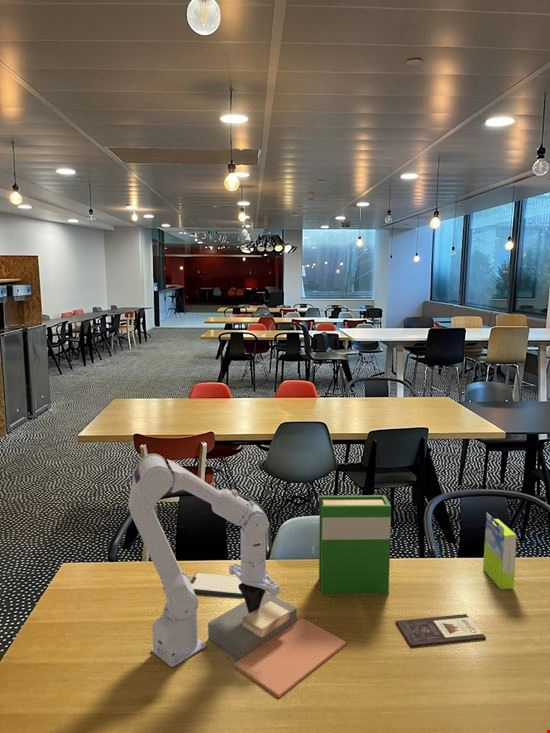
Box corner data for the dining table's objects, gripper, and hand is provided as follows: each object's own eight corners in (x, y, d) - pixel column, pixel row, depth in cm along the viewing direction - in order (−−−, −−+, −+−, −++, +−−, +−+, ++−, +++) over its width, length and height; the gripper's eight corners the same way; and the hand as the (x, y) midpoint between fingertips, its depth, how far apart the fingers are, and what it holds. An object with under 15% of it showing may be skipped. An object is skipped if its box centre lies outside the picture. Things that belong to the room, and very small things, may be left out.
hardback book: (321, 593, 140) (322, 506, 137) (318, 578, 148) (319, 495, 144) (388, 593, 140) (391, 506, 137) (382, 578, 148) (384, 495, 144)
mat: (279, 697, 104) (279, 694, 104) (234, 666, 113) (234, 663, 113) (346, 644, 120) (346, 641, 120) (302, 620, 129) (302, 617, 129)
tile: (261, 637, 116) (261, 629, 116) (242, 625, 120) (242, 617, 120) (289, 619, 123) (289, 611, 122) (270, 608, 127) (270, 600, 126)
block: (241, 661, 114) (241, 644, 114) (208, 638, 122) (208, 622, 121) (296, 623, 127) (296, 608, 127) (263, 605, 135) (263, 590, 134)
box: (514, 589, 142) (518, 527, 140) (499, 590, 142) (503, 528, 139) (495, 569, 152) (498, 511, 150) (481, 569, 152) (484, 511, 150)
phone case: (252, 582, 147) (195, 577, 149) (252, 577, 147) (195, 571, 149) (245, 600, 138) (186, 594, 141) (245, 594, 138) (186, 588, 140)
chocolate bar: (395, 620, 128) (466, 614, 130) (395, 624, 128) (465, 617, 130) (410, 645, 119) (485, 637, 122) (410, 649, 119) (485, 641, 122)
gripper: (288, 561, 120) (288, 617, 122) (244, 541, 130) (244, 593, 132) (266, 573, 115) (266, 631, 117) (222, 551, 125) (223, 605, 127)
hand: (253, 612), depth 124 cm, fingers closed
